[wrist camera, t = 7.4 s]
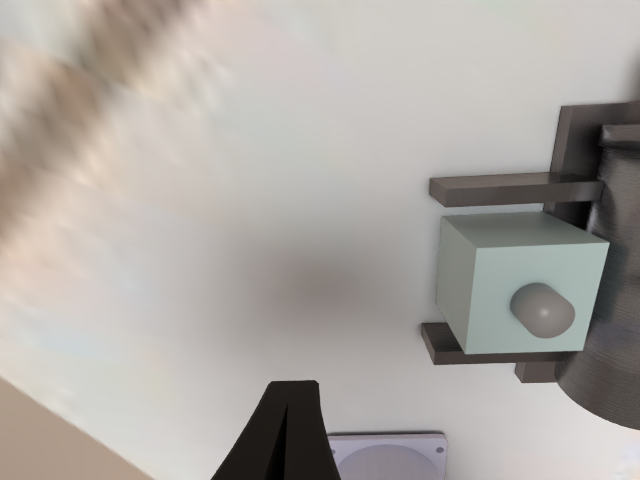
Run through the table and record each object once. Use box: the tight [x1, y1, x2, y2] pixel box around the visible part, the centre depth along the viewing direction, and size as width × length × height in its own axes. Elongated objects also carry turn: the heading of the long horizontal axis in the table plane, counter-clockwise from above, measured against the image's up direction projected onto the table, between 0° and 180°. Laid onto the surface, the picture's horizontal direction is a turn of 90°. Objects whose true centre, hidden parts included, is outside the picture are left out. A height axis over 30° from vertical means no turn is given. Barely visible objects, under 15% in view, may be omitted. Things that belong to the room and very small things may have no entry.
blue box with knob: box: [436, 211, 610, 354], centre depth 16 cm, size 5×5×6 cm
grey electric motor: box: [422, 102, 640, 430], centre depth 15 cm, size 17×12×6 cm
